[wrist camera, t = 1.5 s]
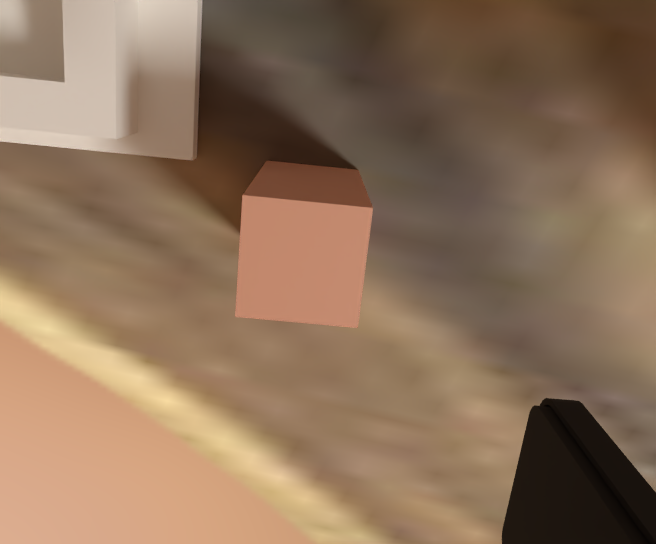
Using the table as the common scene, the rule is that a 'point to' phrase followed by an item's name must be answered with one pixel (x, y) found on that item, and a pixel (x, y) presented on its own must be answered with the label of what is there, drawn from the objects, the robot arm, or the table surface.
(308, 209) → the peg
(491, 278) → the table surface
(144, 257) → the table surface
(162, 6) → the socket stand
